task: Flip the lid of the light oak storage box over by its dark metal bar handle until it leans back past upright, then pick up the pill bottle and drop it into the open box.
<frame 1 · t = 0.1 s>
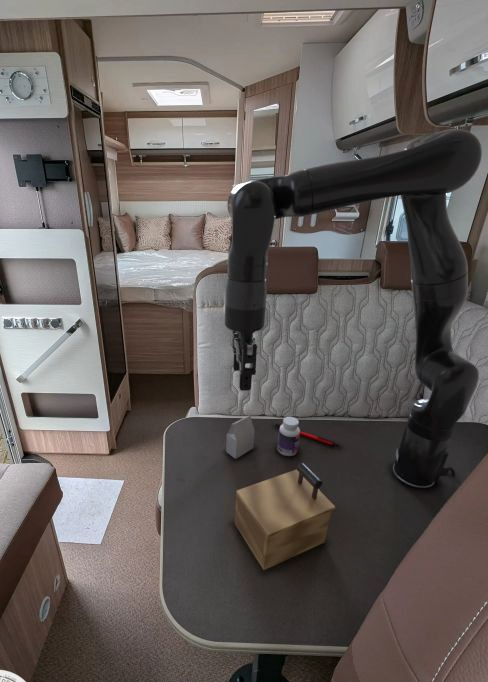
hand: (241, 379, 74), 29 cm above the table, tool pointing down, fingers open, 8 cm apart
pill bottle: (287, 450, 100), on the table
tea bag: (239, 450, 99), on the table
pen: (304, 436, 106), on the table
chest: (278, 532, 76), on the table
lid: (285, 490, 71), point 12 cm above the table, hinge at 0.0°
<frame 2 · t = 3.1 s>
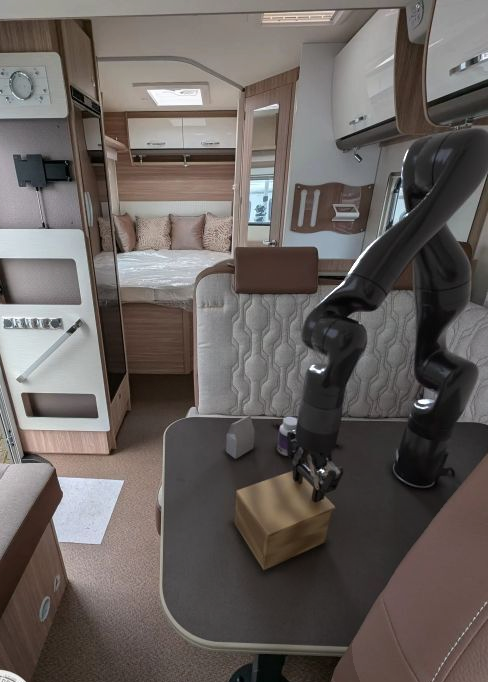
hand: (306, 488, 73), 10 cm above the table, tool pointing down, fingers closed on lid, 5 cm apart
lid: (285, 490, 71), point 12 cm above the table, hinge at 0.0°, touching gripper
everything else where it was.
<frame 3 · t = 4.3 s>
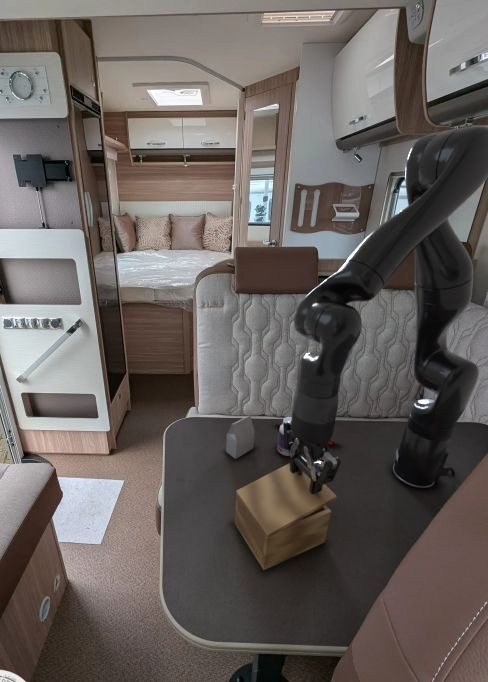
hand: (304, 480, 72), 12 cm above the table, tool pointing down, fingers closed on lid, 5 cm apart
lid: (283, 486, 70), point 13 cm above the table, hinge at 11.3°, touching gripper
everything else where it was.
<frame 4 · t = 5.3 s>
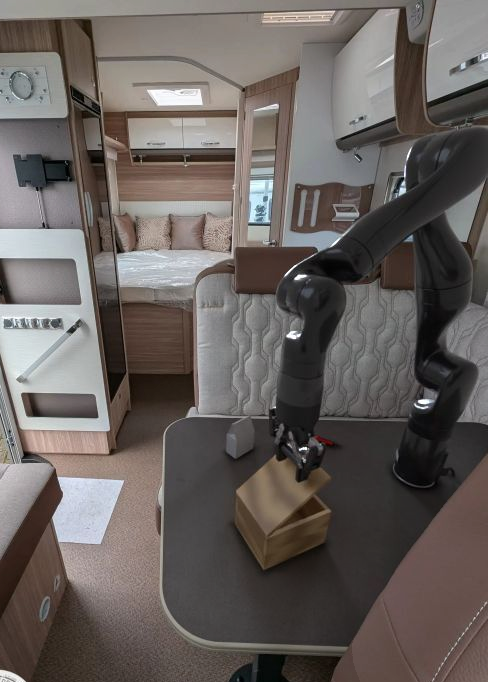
hand: (290, 469, 68), 17 cm above the table, tool pointing down, fingers closed on lid, 5 cm apart
lid: (275, 479, 68), point 16 cm above the table, hinge at 34.9°, touching gripper
everything else where it was.
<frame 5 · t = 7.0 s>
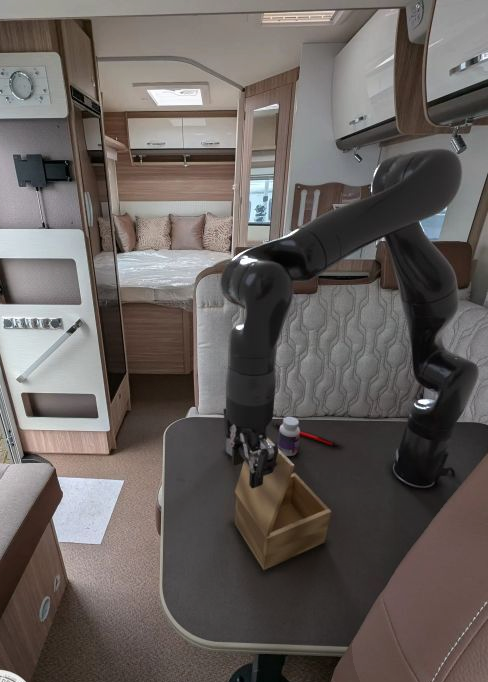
hand: (246, 473, 64), 20 cm above the table, tool pointing down, fingers closed on lid, 5 cm apart
lid: (250, 481, 65), point 17 cm above the table, hinge at 76.8°, touching gripper
everything else where it was.
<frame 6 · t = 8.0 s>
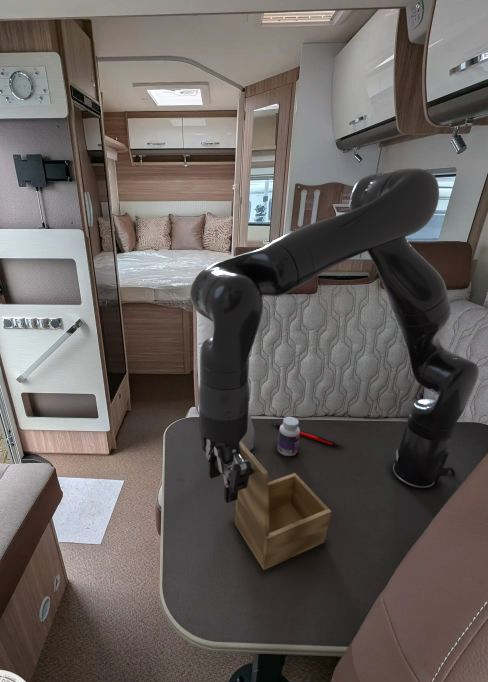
hand: (222, 487, 62), 18 cm above the table, tool pointing down, fingers closed on lid, 5 cm apart
lid: (237, 489, 64), point 17 cm above the table, hinge at 96.4°, touching gripper
everything else where it was.
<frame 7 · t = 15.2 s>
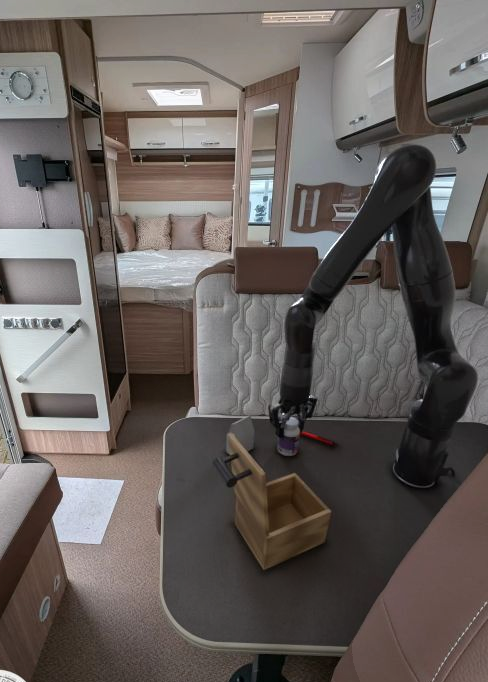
hand: (289, 434, 97), 5 cm above the table, tool pointing down, fingers closed on pill bottle, 5 cm apart
pill bottle: (287, 450, 100), on the table, touching gripper
lid: (236, 489, 64), point 17 cm above the table, hinge at 97.9°
everything else where it was.
when the fingers open (12 cm above the table, at t = 21.9 s): pill bottle drops 6 cm, resting on chest.
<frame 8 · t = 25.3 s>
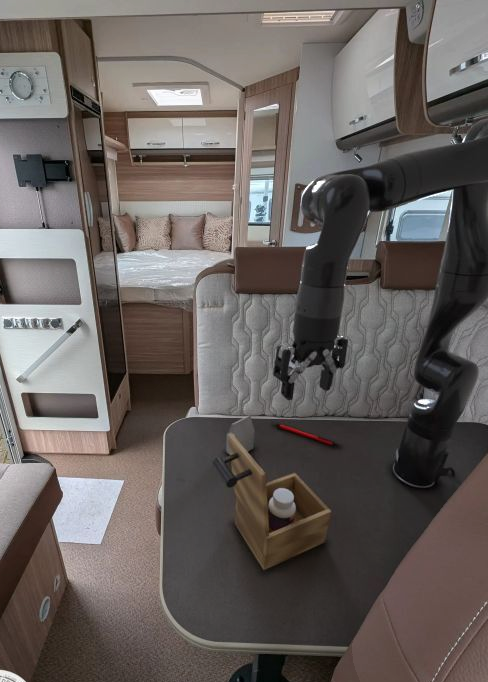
hand: (306, 393, 68), 30 cm above the table, tool pointing down, fingers open, 8 cm apart
pill bottle: (278, 530, 75), point 1 cm above the table, touching chest
everything else where it was.
at the end: lid at +98° (first picture: +0°); pill bottle inside the target area in the chest (0.1 cm from its centre), point 0.6 cm above the chest's base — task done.
